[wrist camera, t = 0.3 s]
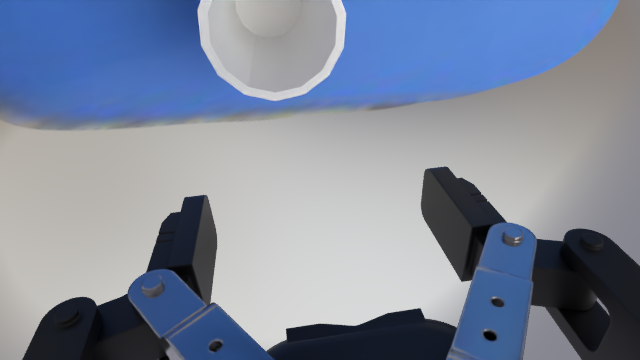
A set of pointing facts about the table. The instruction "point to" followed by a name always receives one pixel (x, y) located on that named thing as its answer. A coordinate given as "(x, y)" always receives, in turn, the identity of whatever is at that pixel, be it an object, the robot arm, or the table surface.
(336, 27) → the foam cup
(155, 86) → the table surface
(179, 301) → the robot arm
